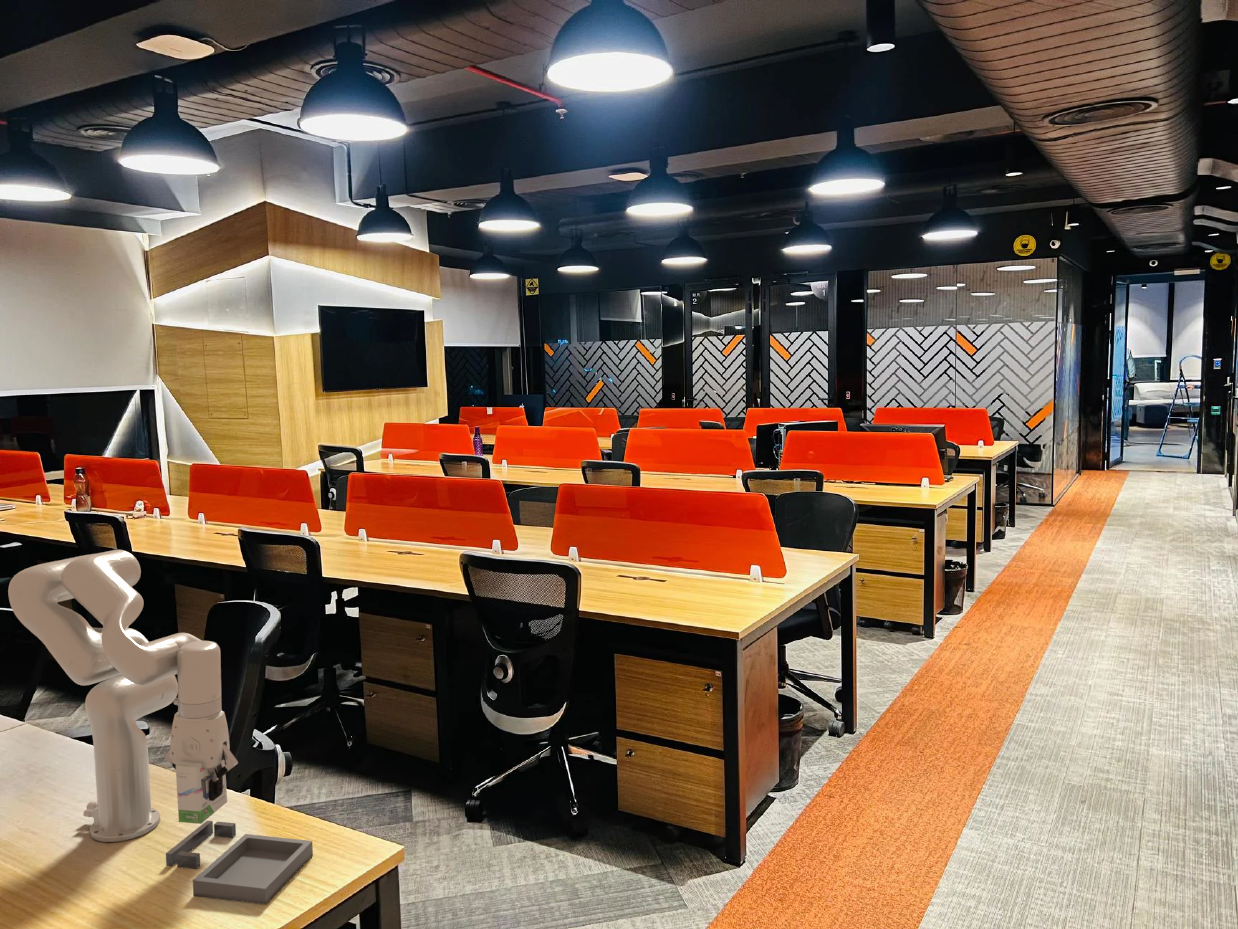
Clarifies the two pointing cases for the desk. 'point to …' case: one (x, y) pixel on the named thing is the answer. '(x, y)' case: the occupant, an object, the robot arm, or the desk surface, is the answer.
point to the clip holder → (183, 848)
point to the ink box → (196, 793)
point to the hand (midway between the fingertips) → (202, 794)
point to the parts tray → (253, 869)
